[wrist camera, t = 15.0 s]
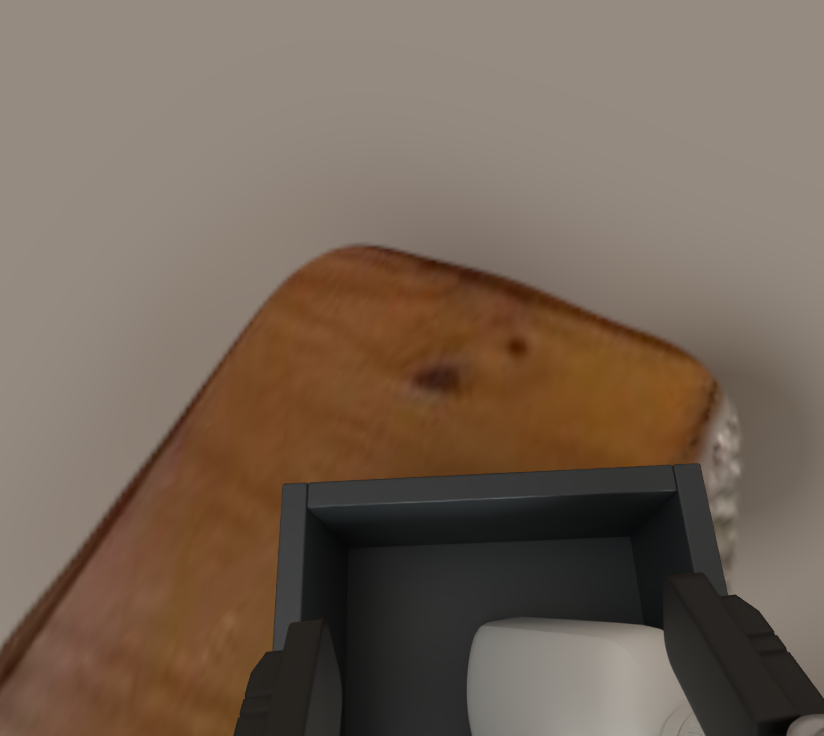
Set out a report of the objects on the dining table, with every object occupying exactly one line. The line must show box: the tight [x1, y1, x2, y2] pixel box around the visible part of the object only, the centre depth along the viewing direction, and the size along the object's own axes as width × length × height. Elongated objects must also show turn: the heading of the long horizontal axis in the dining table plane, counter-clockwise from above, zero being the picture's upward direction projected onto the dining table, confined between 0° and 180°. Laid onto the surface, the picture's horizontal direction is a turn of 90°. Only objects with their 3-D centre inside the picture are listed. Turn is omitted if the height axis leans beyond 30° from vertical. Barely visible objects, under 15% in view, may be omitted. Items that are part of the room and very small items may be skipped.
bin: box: [273, 463, 728, 736], centre depth 21 cm, size 13×13×8 cm
